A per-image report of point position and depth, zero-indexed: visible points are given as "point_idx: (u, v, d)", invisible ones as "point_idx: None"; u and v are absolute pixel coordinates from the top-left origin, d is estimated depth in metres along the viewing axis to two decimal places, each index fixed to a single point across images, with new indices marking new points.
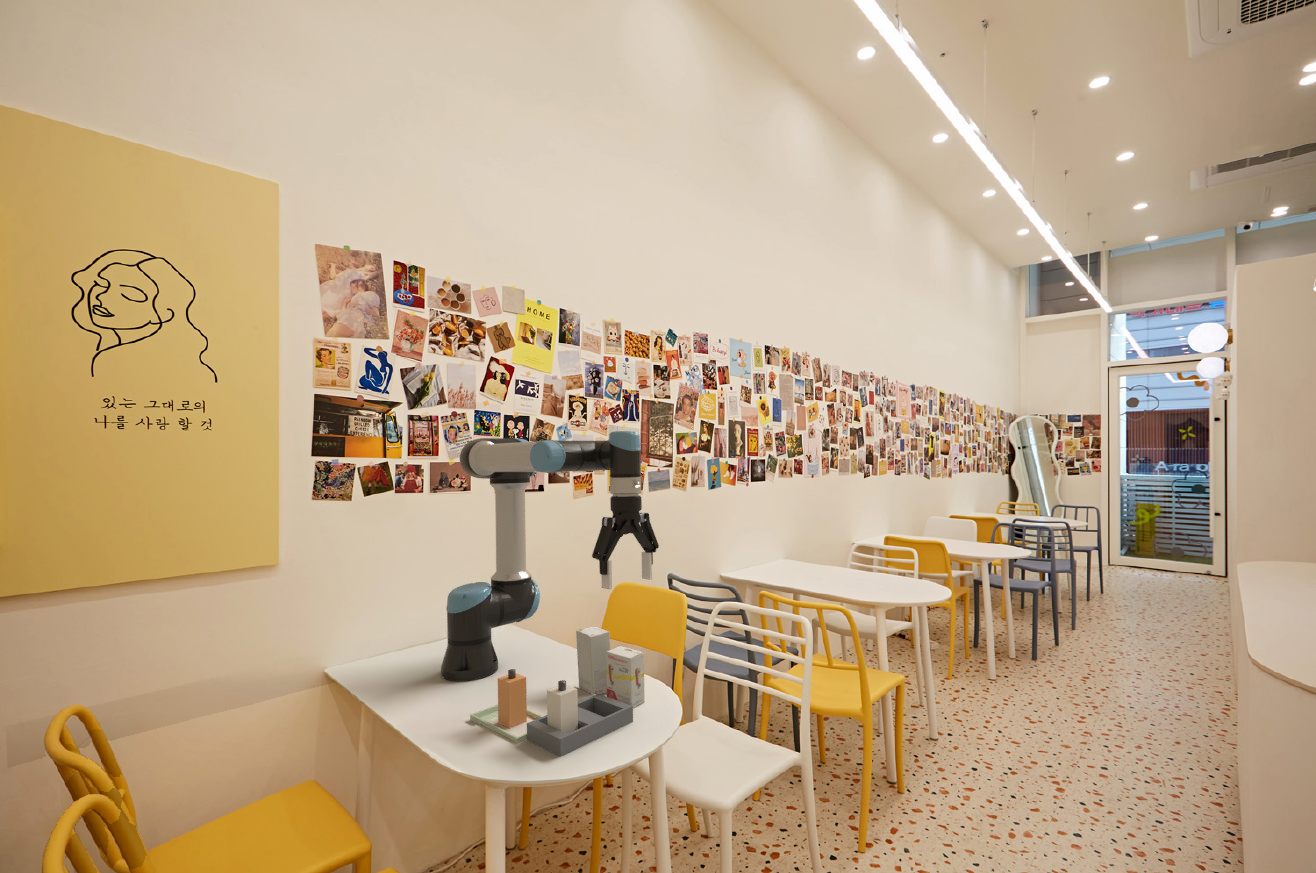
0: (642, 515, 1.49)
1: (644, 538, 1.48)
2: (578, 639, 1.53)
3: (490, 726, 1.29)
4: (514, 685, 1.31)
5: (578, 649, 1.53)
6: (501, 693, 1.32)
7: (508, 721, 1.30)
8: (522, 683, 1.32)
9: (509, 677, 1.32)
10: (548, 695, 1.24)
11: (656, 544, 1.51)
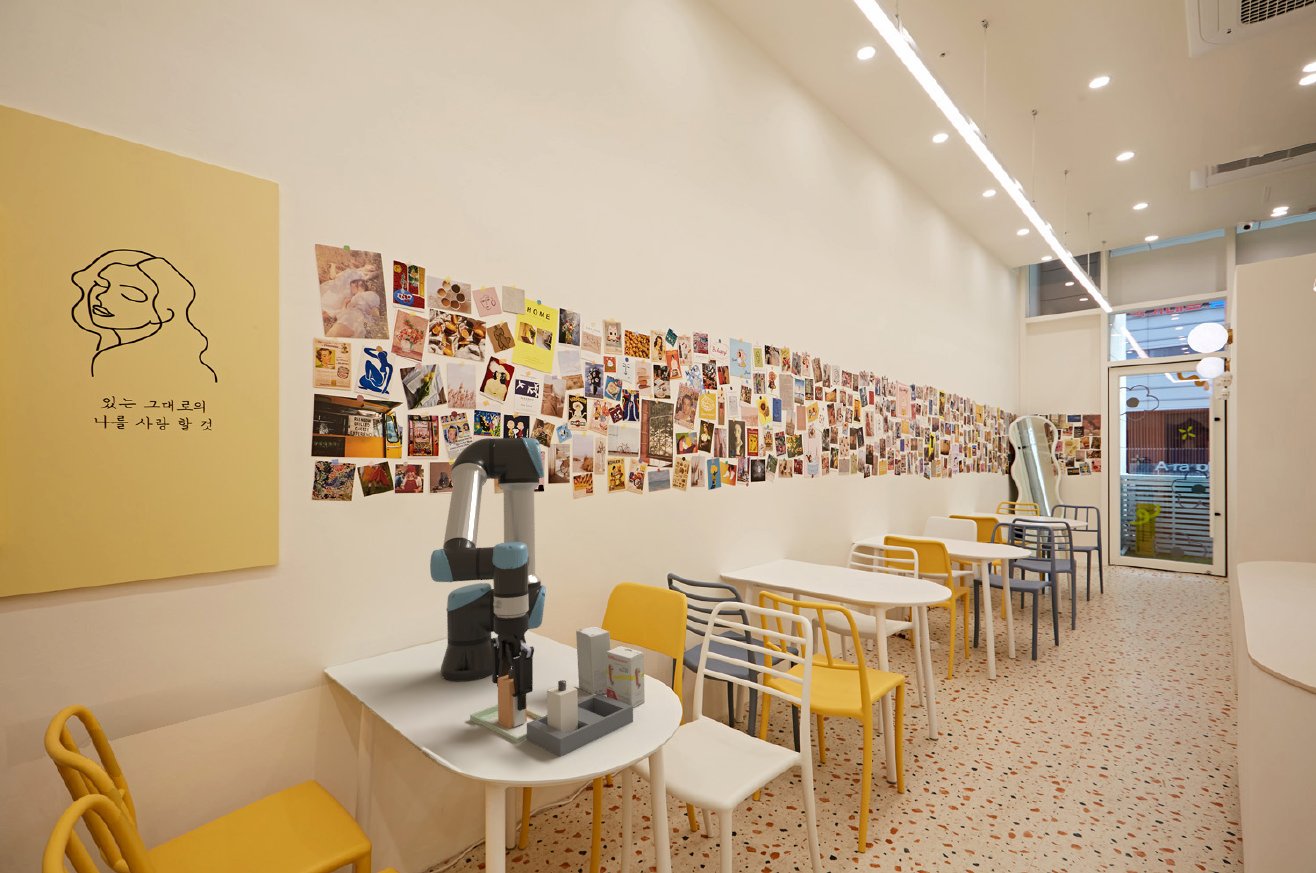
0: (523, 647, 1.29)
1: (513, 673, 1.30)
2: (578, 639, 1.53)
3: (490, 726, 1.29)
4: None
5: (578, 649, 1.53)
6: (501, 693, 1.32)
7: (508, 721, 1.30)
8: None
9: (509, 677, 1.32)
10: (548, 695, 1.24)
11: (521, 689, 1.28)
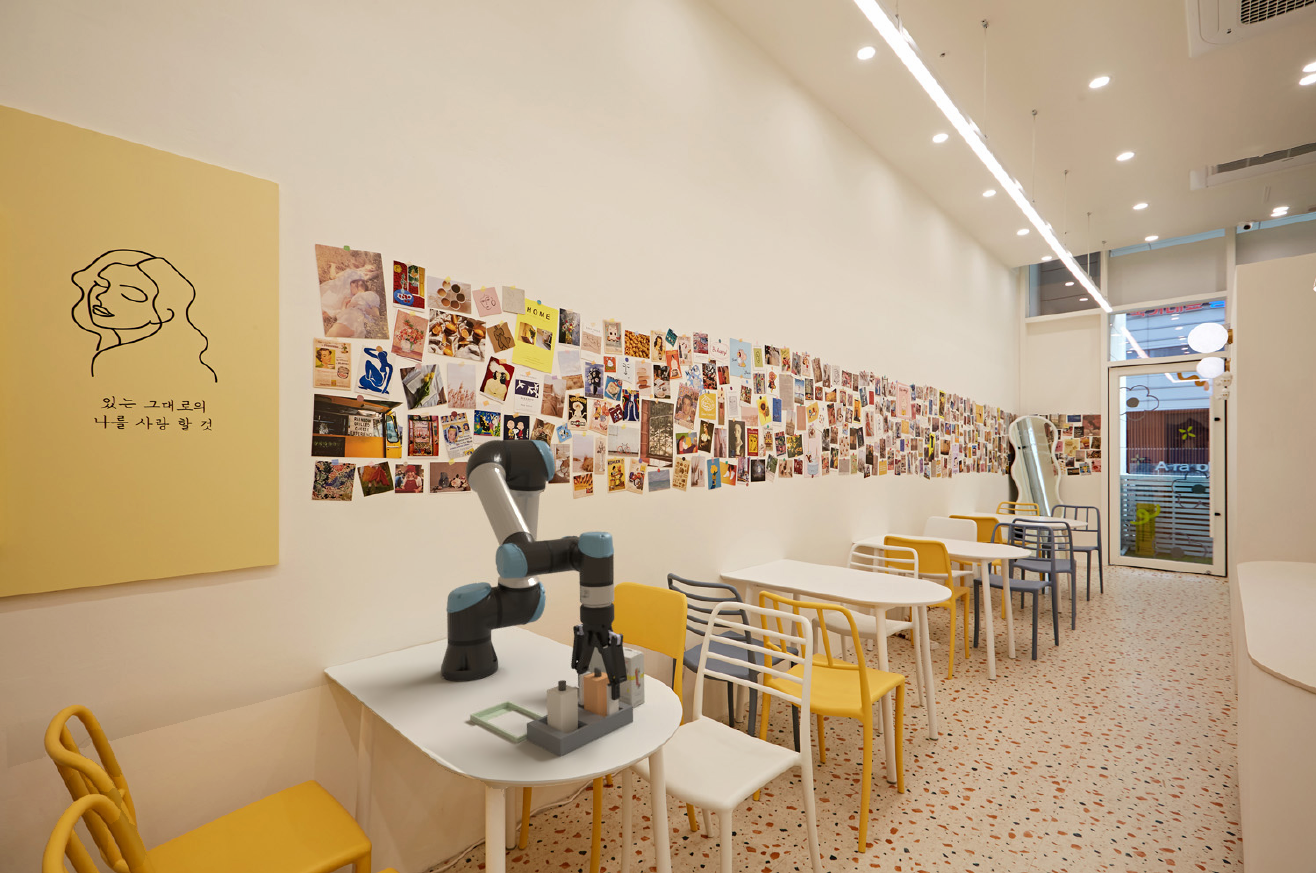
0: (612, 635, 1.28)
1: (605, 662, 1.28)
2: None
3: (490, 726, 1.29)
4: (601, 684, 1.29)
5: None
6: (588, 691, 1.30)
7: None
8: None
9: (595, 675, 1.31)
10: (548, 695, 1.24)
11: (616, 678, 1.26)
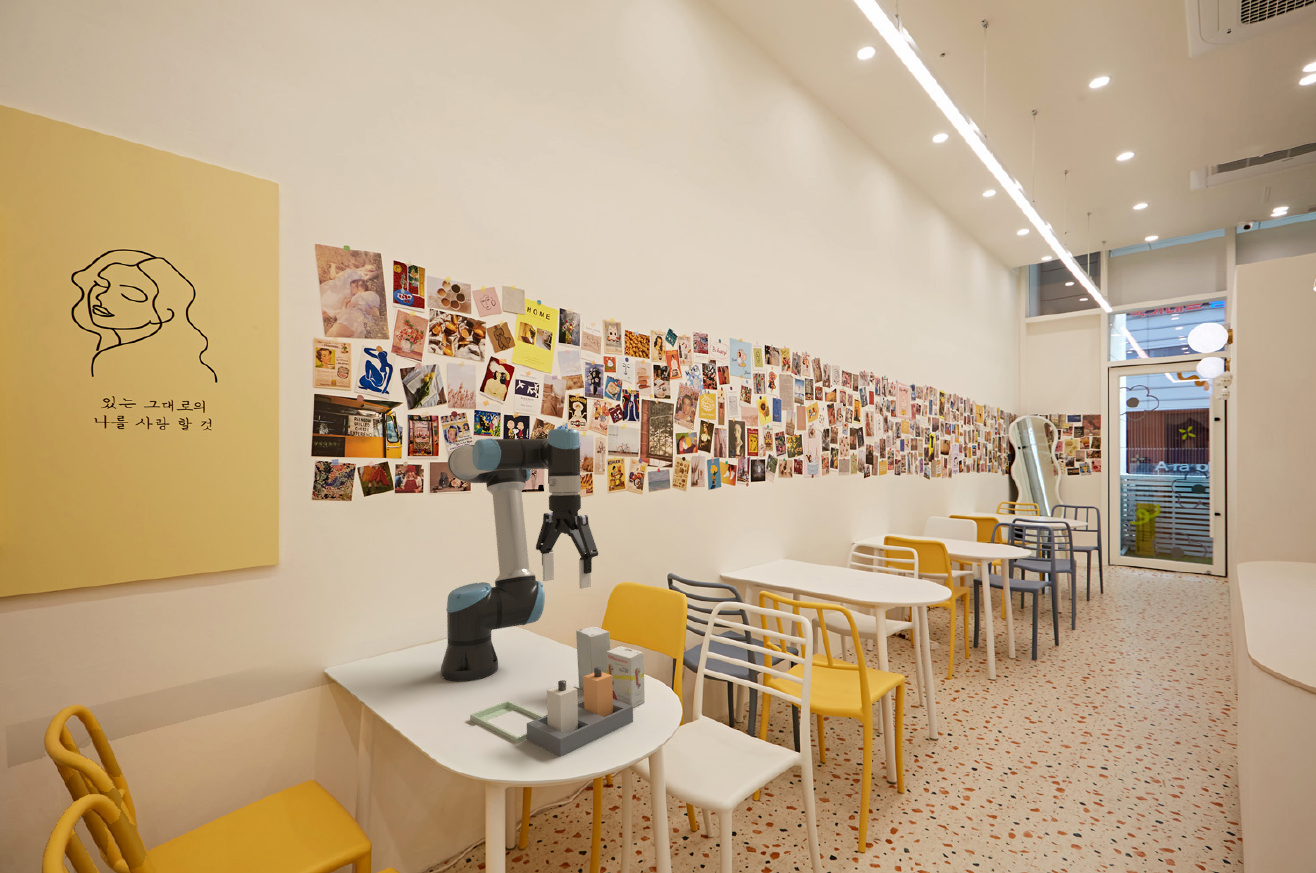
0: None
1: (575, 542, 1.39)
2: (578, 639, 1.53)
3: (490, 726, 1.29)
4: (601, 684, 1.29)
5: (578, 649, 1.53)
6: (588, 691, 1.30)
7: None
8: (609, 682, 1.31)
9: (595, 675, 1.31)
10: (548, 695, 1.24)
11: (587, 552, 1.36)
